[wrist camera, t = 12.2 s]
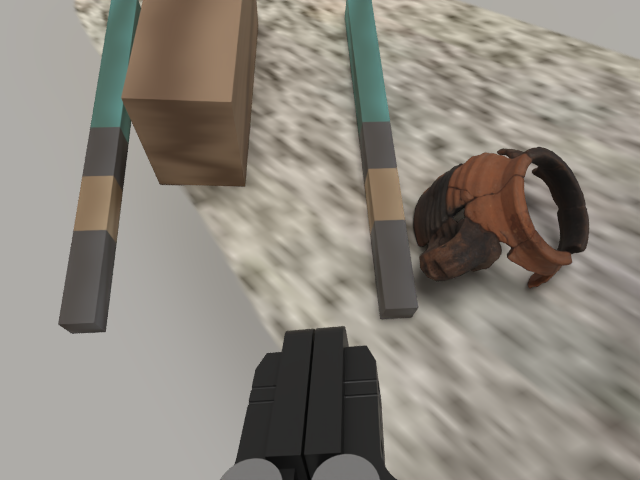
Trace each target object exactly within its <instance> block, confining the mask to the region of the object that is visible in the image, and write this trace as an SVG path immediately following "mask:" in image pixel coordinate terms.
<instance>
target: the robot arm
mask: <svg viewBox="0 0 640 480" xmlns="http://www.w3.org/2000/svg"><path fill="white" fill-rule="evenodd" d="M220 480H397V479H395V478H394V477H393V476H392V475H391V474H390V473H389V471H388V470H387V469H386V467H385V455H384V438H383V422H382V404H381V395H380V388H379V381H378V373H377V366H376V360H375V359H374V357H373V355H372V354H371V352H370V350H369V349H368V347H367V346H354V347H349V345H348V340H347V334H346V329H345V326H341V327H328V328H317V329H316V330H315V329H305V330H293V331H286V332H285V336H284V342H283V348H282V352H276V353H267V354H266V355H265V357H264V358H263V360H262V361H261V362H260V364H259V365H258V367H257V368H256V370H255V375H254V379H253V384H252V390H251V393H250V398H249V405H248V407H247V412H246V417H245V421H244V426H243V430H242V435H241V440H240V445H239V449H238V453H237V458H236V462H235V464H234V466H233V467H231V468H230V469H229V470H228V471H227V472H226V473H225V474H224V475H223V476H222V478H221V479H220Z"/></svg>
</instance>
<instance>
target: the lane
mask: <svg viewBox="0 0 640 480" xmlns="http://www.w3.org/2000/svg"><path fill="white" fill-rule="evenodd" d="M140 11H141V7H140V4H139V1H138V0H111V4H110V10H109V17H108V23H107V29H106V35H105V41H104V47H103V53H102V59H101V66H100V72H99V78H98V84H97V90H96V97H95V102H94V108H93V115H92V121H91V127H90V134H89V139H88V145H87V152H86V157H85V164H84V170H83V176H82V182H81V188H80V194H79V200H78V207H77V212H76V219H75V225H74V231H73V237H72V243H71V249H70V255H69V262H68V268H67V274H66V280H65V286H64V292H63V299H62V305H61V310H60V317H59V323H58V324H59V325H60V326H61V327H63V328H64V329H66V330H67V331H69V332H70V333H72V334H74V333H95V332H106V325H107V317H108V309H109V301H110V292H111V283H112V275H113V268H114V260H115V251H116V243H117V235H118V227H119V218H120V210H121V202H122V192H123V185H124V176H125V168H126V160H127V152H128V144H129V135H130V127H131V119H130V117H129V115H128V112H127V110H126V108H125V106H124V104H123V101H122V99H121V96H122V92H123V87H124V83H125V78H126V74H127V69H128V65H129V60H130V56H131V51H132V47H133V43H134V38H135V34H136V29H137V25H138V20H139V16H140ZM345 22H346V31H347V39H348V48H349V56H350V65H351V73H352V82H353V90H354V99H355V107H356V116H357V124H358V133H359V141H360V150H361V158H362V167H363V175H364V184H365V192H366V201H367V209H368V218H369V226H370V235H371V243H372V252H373V260H374V269H375V277H376V286H377V294H378V303H379V312H380V319H388V318H409V317H412V316H413V314H414V313H415V312H416V310H417V309H418V302H417V296H416V289H415V282H414V276H413V269H412V263H411V256H410V250H409V243H408V237H407V230H406V223H405V217H404V210H403V204H402V197H401V191H400V184H399V177H398V171H397V164H396V158H395V151H394V145H393V138H392V131H391V125H390V118H389V112H388V105H387V99H386V92H385V85H384V79H383V72H382V66H381V59H380V53H379V46H378V39H377V33H376V26H375V20H374V13H373V7H372V0H347V1H346V10H345Z"/></svg>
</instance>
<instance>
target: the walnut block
mask: <svg viewBox="0 0 640 480" xmlns="http://www.w3.org/2000/svg"><path fill="white" fill-rule="evenodd" d="M257 34H258V15H257V2H256V0H143V2H142V7H141V11H140V16H139V20H138V25H137V29H136V34H135V38H134V43H133V47H132V51H131V56H130V60H129V65H128V69H127V74H126V78H125V83H124V87H123V92H122V96H121V99H122V101H123V104H124V106H125V108H126V110H127V112H128V115H129V117H130V119H131V121H132V124H133V126H134V128H135V130H136V132H137V135H138V137H139V139H140V141H141V143H142V146H143V148H144V150H145V152H146V155H147V157H148V159H149V161H150V164H151V166H152V168H153V170H154V172H155V174H156V177H157V179H158V181H159V184H160V185H178V186H181V185H211V186H245V182H246V170H247V158H248V145H249V133H250V121H251V108H252V96H253V83H254V71H255V59H256V46H257Z"/></svg>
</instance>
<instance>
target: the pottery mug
mask: <svg viewBox="0 0 640 480" xmlns="http://www.w3.org/2000/svg"><path fill="white" fill-rule="evenodd" d="M497 153H498V154H499V155H497V154H494V153H483V154H481V155H477V156H472V157H471V158H470V159H469V160H468V161H466V163H464V164H462V163H461V164H459V165H458V166H454V167H453V168H452V169H451V170H450V171H447V172H446V173H444V174H443V175H441V176H439V177H438V178H437V180H436V181H434V182H433V184H432V185H431V187H429V188H428V189H427V190H426V191H425V192H424V193H423V194H422V195H421V197H420V198H419V200H418V203H417V205H416V208H415V215H414V229H415V234H416V239H417V242H418V245H419V246H424V245H426V244H427V243H429V244H428V248H427V250H426V251H425V252H424V253H422V254H421V256H420V268H421V270H422V271H423V272H424V273H425V274H426V276H427V277H428V278H430V279H433V280H435V281H445V280H449V279H453V278H456V277H458V276H461V275H463V274H464V273H466V272H468V271H477V270H481V269H487V268H489V267H490V266H491V265H492V264H493V263H494V262H495V261H496V260H497V259H499V257H500V255H501V252H502V249H501V245H500V242H503V243H506V244H507V245H508V246H510V247H511V250H510V251H509V252H508V254H507V258H508V259H509V260H510V261H512V262H514V263H516V264H518V265H519V266H522V267H523V268H525V269H526V270H528V271H532V272H535V273H534V274H533V275H532V276H531V278H530V279H529V282H528V287H529V288H532V287H537V286H539V285H540V284H542V283H545V282H547V281H548V280H549V279H550V278H551V277H552V276H553V275H554V274H555V273H556V272H557V271H559V270H560V268H561V267H562V266H564V265H569V264H571V263H572V259H571V254H573V253H579V252H583V251H585V249H586V246H587V243H588V235H589V217H588V213H587V208H586V206H585V200H584V196H583V193H582V191H581V189H580V186H579V183H578V181H577V179H576V178H575V176H574V174H573V172H572V170H571V169H570V168H569V167H568V165H567V164H566V163H565V162H564V161H563V160H562V159H561V158H560V157H559V156H558V155H556V154H555V153H554V152H553V151H550V150H548V149H546V148H542V147H537V148H531V149H529V150H527V151H525V152H522V151H519V150H513V149H500V150H499V151H497ZM502 155H506V156H508V157H509V158H507V157H505V156H502ZM531 163H533V164H535V165H537V166H538V167H537V168H535V169H533V170H532V173H533V174H534V175H535V176H537V177H539V178H541V179H542V180H543V181H544V182H545V183H546V185H547V186H548V187H549V190H550V192H551V195H552V198H553V200H554V201H555V203H556V205H557V206H558V208H559V210H558V212H557V216H558V222H559V228H560V241H559V246H558V249H557V250H555V249H553V248H552V247H551V246H549V245H548V244H547V243H546V242H545V241H544V240H543V238H542V237H541V236H540V235H539V234H538V232H537V231H536V230H535V228H534V225H533V223H532V220H531V218H530V215H529V212H528V208H527V205H526V200H525V194H524V177H525V174H526V170H527V168H528V166H529V165H530V164H531ZM463 208H464V209H465V210H464V216H465V218H464V219H461V220H460V221H459V222H456V221H455V220H454V219H453V216H455V215H456V214H457V213H458V212H460V211H461V210H462V209H463Z"/></svg>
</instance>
